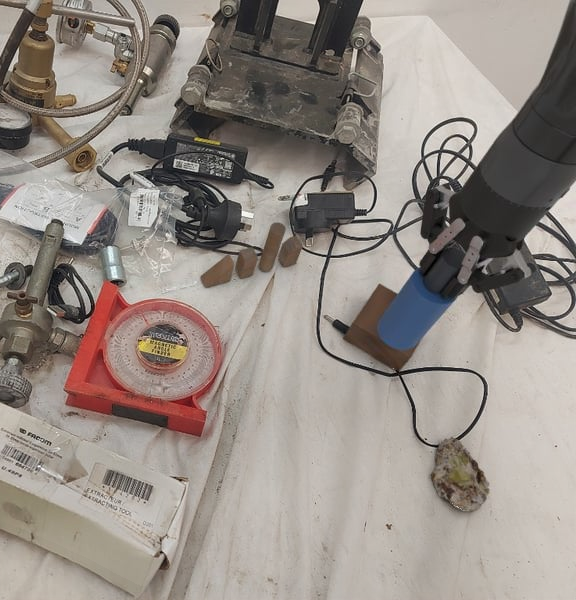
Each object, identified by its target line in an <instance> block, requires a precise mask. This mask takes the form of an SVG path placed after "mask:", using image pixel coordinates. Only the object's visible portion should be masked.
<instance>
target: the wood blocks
mask: <svg viewBox="0 0 576 600" xmlns="http://www.w3.org/2000/svg"><path fill="white" fill-rule="evenodd" d="M286 231H287V227H286V226H285V224H283V223H281V222H278V221H277V222H273V223H272V224H271V225H270V227H269V230H268V233H267V236H266V240H265V243H264V246H263V249H262V253H261V256H260V259H259V256H258V254H257V253H256V250H255V249H254V248H253V246H251V247H246V248H243V249H240V250H239V251H238V255H237V258H236V263H235V262H234V259H233V258H232V256H231V254H230V253H227V254H226V255H224V256H223V257H222V258H221V259H220V260H219V261H217V262H216V263H215V264H213V265H212V266H211V267H210V268H209V269H208V270H206V271H205V272H204V273H203V274H201V275H200V280H201V282H202V283H203V285H204V288H208V287H213V286H217V285H220V284H225V283H228V282H230V281H232V276H233V273H234V269H235V271H236V273H237V274H238V277H239V278H240V279H243V278H247V277H251V276H253V275H254V272H255V271H256V267H257V263H258V268H259V269H260V270H261V271H262V272H265V273H266V272H267V273H268V272H270V270H271V269H272V270H273V267H274V265H275V263H276V262H275V261H276V259H277V258H278V257H279V258H278V260H279V259H280V260H279V262H280V263H281V265H282V266H283V268H285V267H289V266H294V265H296V264H297V262H298V260H299V258H300V255H301V252H302V250H303V248H304V245H303V243H302V242H301V240H300V238H299V237H298V236H297V235H294V236H290V237H289V238H287V239H286V240H285V241H283V239H284V236H285V234H286ZM258 260H259V262H258ZM272 270H271V271H272ZM196 285H197V281H193V282H192V281H191V282H189V283H186V284H182V285H180V286H179V289H184V288H190V287H194V286H196ZM176 289H178V286H172V288H168V289H167V288H165V289H162V290H161V294H165V293H169V292H172V291H176Z"/></svg>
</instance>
